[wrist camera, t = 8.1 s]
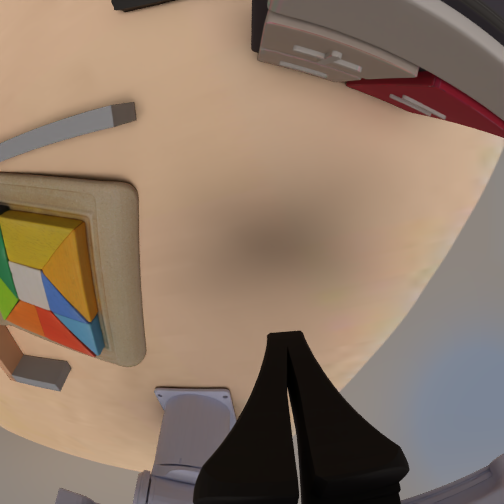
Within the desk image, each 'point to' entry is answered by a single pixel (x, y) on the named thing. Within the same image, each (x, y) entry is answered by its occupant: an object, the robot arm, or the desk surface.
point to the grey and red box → (395, 51)
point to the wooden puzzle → (72, 264)
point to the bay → (3, 345)
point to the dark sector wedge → (135, 4)
